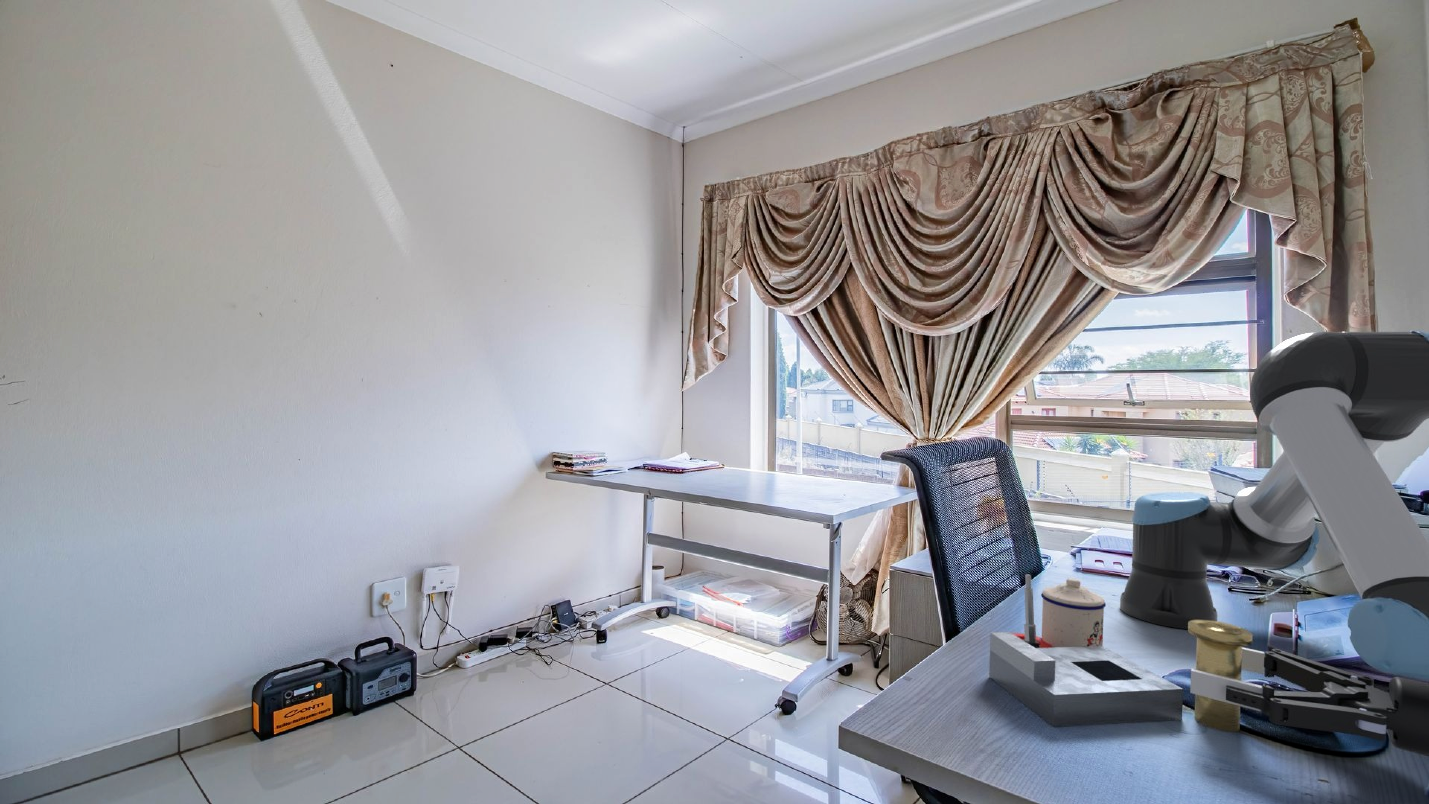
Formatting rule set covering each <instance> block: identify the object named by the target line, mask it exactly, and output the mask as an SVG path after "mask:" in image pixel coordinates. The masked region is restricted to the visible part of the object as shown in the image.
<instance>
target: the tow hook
mask: <svg viewBox="0 0 1429 804" xmlns="http://www.w3.org/2000/svg"><path fill="white" fill-rule="evenodd" d="M1024 576H1025V587H1024V588H1023V589H1024V610H1025V612H1024V613H1025V615H1024V616H1025V617H1024V618H1025V623H1024V624H1023V625H1024V633H1018V632H1017V633H1016V632H1011V633H1012V634H1014V635H1015V636H1017V637H1018V638H1020V639H1022V640H1023V641H1025V642H1027V643H1028V644H1030V645H1031V646H1033V647H1035V648H1051V645H1050V644H1048V643H1046V642H1044V641H1043V640H1042V637H1039V636H1037V630H1036V629H1037V627H1036V624H1035V617H1034V616H1035V615H1034V614H1035V613H1034V589H1033V587H1032V575H1031V574H1025V575H1024Z"/></svg>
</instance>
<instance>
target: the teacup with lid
mask: <svg viewBox="0 0 1429 804" xmlns="http://www.w3.org/2000/svg"><path fill="white" fill-rule="evenodd" d="M1065 581H1066V583H1061V584H1058V585H1056V586H1050V587H1046V588H1044V589H1043V590H1042V591H1041V594H1040V596H1041V598H1042V611H1041V612H1042V619H1041V638H1042V640H1043V641H1044V642H1046V643H1048V644H1050V645H1051V648H1053V647H1081V646H1103V647H1104V644H1103V643H1104V612H1105V610H1104V609H1105V607H1106V602H1105V599H1104V598H1103V597H1102V596H1100V595H1099V594H1097V593H1096V592H1093V591H1090V590H1089V589H1088V588H1086V587H1085V586H1082V585H1081V581H1080V580H1079V579H1077V578H1072V577H1071V578H1070V577H1069V578H1066V580H1065Z"/></svg>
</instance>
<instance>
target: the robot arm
mask: <svg viewBox="0 0 1429 804" xmlns="http://www.w3.org/2000/svg"><path fill="white" fill-rule="evenodd" d="M1249 389H1250V390H1249V398H1250V405H1251V408H1252V412H1253V414H1254V416H1255V417H1256V420H1257V421H1258V423H1259V425H1260V427H1261V428H1262V429H1263V431H1265V432H1266V433H1268V434H1270V435H1273V436H1276V438H1277V439H1278V442H1279V444H1280V446H1281V447H1282V450H1283V452H1282V453H1281V454H1280V456H1279V457H1278V458H1277V459H1276V461H1275V462H1274V463H1273V464H1272V466H1271V467H1270V468H1269V470H1268V471H1267V472H1266V473H1265V475H1264V476H1263V478H1262V479H1260V481H1259V483H1258V484H1257V485H1256V486H1250V487H1247V488H1244V489H1242V490H1240V491H1238V493H1237V494H1236V495H1235V496H1234V498H1233V499H1232V501H1230V502H1217V501H1215V502H1214V501H1211V500H1210V498H1209V497H1208V495H1205V494H1203V493H1199V492H1198V493H1197V492H1180V491H1176V492H1175V491H1174V492H1173V491H1171V492H1169V491H1167V492H1156V493H1155V492H1154V493H1148V494H1145V495H1142V496H1140V497H1138V498H1137V499H1136V500H1135V503H1134V506H1133V507H1134V509H1133V516H1132V519H1131V520H1132V521H1131V522H1132V554H1131V555H1132V556H1131V557H1132V558H1131V559H1132V561H1131V562H1132V563H1131V571H1130V575H1129V576H1128V579H1127V582H1126V584H1125V587H1124V592H1123V591H1122V593H1121V595H1120V599H1119V600H1120V602H1119V603H1120V604H1119V608H1120V610H1121V611H1122V612H1123V613H1125V614H1126V615H1129V616H1130V617H1133V618H1136V619H1138V620H1141V621H1144V622H1148V623H1151V624H1156V625H1160V626H1164V627H1169V628H1177V629H1185V630H1188V622H1189V621H1191V620H1210V621H1217V622H1218V611H1217V608H1215V607H1214V602H1213V598H1212V595H1211V592H1210V591H1211V590H1210V588H1209V585H1208V582H1207V578H1208V576H1207V573H1208V572H1207V571H1208V565H1213V566H1226V567H1227V566H1228V567H1238V568H1252V569H1263V570H1268V571H1291V570H1298V569H1301V568H1303V567H1305V566H1307V565H1308V564H1310V562H1311V561H1313V559H1314V558H1315V556H1316V555H1317V552H1318V548H1317V545H1319V544H1320V531H1319V527H1318V524H1317V523H1316V519H1315V516H1316V514H1317V516H1318V518H1319V520H1320V522H1321V523H1322V525H1323V527H1324V530H1325V531H1326V534H1327V535H1328V538H1329V539H1330V541H1331V542H1332V543H1331V544H1332V545H1333V547H1334V549H1335V550H1336V552H1337V554H1338V556H1339V558H1340V559H1341V561H1342V564H1343V566H1344V568H1345V569H1346V571H1347V574H1348V575H1349V577H1350V579H1351V581H1352V583H1353V586H1355V589H1356V590H1357V592H1358V594H1359V596H1360V599H1361V600H1359V601H1356V603H1355V604H1353V605H1352V607H1351V608H1350V610H1349V612H1348V616H1347V627H1348V629H1349V630H1350V635H1349V640H1350V643H1351V645H1352V647H1353V649H1354V651H1355V652H1356V653H1357V655H1358V656H1359V657H1360V658H1361V659H1362V660H1363V661H1364V662H1365V664H1367V665H1368V666H1369V667H1372V668H1373V669H1375V670H1377V671H1379V672H1381V673H1385V674H1389V675H1390V674H1391V675H1395V676H1394V677H1392V678H1390V680H1389V683H1388V689H1387V690H1383V689H1380V688H1377V687H1374V685H1375V684H1374V680H1375V679H1374V678H1373V677H1370V676H1368V675H1363V674H1359V673H1355V672H1351V671H1347V670H1344V669H1340V668H1337V667H1335V666H1331V665H1328V664H1324V663H1322V662H1319V661H1315V660H1313V659H1309V658H1306V657H1303V656H1300V655H1296V654H1294V653H1291V652H1288V651H1284V650H1281V649H1279V648H1272V649H1271V651H1261V650H1257V649H1251V648H1249V647H1244V646H1242V666H1241V670H1243V671H1248V672H1252V673H1256V674H1262V675H1264V677H1265V678H1275V676H1276V677H1278V678H1279V679H1282V680H1284V681H1287V682H1288V683H1291V684H1294V685H1296V686H1298V687H1301V688H1303V689H1305V690H1308V691H1285V690H1275V688H1273V687H1272V686H1270V685H1268V684H1266V683H1263V684H1262V685H1259V684H1255V683H1252V682H1247V681H1244V680H1241V681H1240V680H1236V679H1232V678H1228V677H1223V676H1219V675H1215V674H1211V673H1207V672H1203V671H1199V670H1196V668H1195V669H1194V668H1191V670H1190V691H1189V692H1190V694H1193V695H1195V694H1196V695H1200V696H1204V697H1208V698H1212V699H1215V700H1219V701H1223V702H1227V703H1230V704H1234V705H1238V706H1240V707H1241V708H1247V709H1250V710H1254V711H1257V712H1261V713H1262V714H1263V715H1265V716H1266V717H1269V718H1268V719H1269V722H1270V723H1272V724H1273V725H1276V726H1279V725H1280V726H1283V727H1284V726H1286V727H1293V728H1301V729H1306V730H1308V729H1309V730H1315V731H1323V732H1329V733H1331V732H1332V733H1339V734H1346V735H1355V736H1358V737H1363V738H1368V739H1372V740H1376V741H1379V742H1386V741H1387V730H1388V736H1389V740H1390V743H1391V744H1392V746H1394V747H1395V748H1397V749H1399V750H1403V751H1407V752H1411V753H1414V754H1418V755H1422V756H1426V757H1429V683H1428V682H1429V540H1428V539H1427V537H1426V536H1425V534H1424V533H1423V531H1422V529H1421V528H1420V526H1419V523H1417V521H1416V520H1415V518H1414V517H1413V515H1412V513H1411V512H1410V510H1409V508H1408V507H1407V506H1406V504H1405V502H1404V501H1403V499H1402V497H1401V496H1400V493H1398V491H1397V490H1396V488H1395V486H1394V485H1393V483H1392V482H1391V480H1390V479H1389V477H1388V475H1387V474H1386V473H1385V471H1384V469H1383V468H1382V466H1381V464H1380V463H1379V461H1378V460H1377V458H1376V457H1375V455H1374V454H1375V452H1377V450H1378V449H1379V448H1380V447H1381V446H1382V445H1384V443H1391V442H1393V443H1394V442H1398V441H1401V440H1404V439H1405V438H1408V437H1409V436H1411V435H1412V434H1413V433H1414V432H1415V430H1417V429H1418V428H1419V427H1420V425H1422V424H1423V422H1424V421H1426V420H1428V419H1429V332H1428V331H1421V330H1410V331H1329V330H1328V331H1312V332H1306V333H1303V334H1299V335H1297V336H1294V337H1291V338H1288V339H1286V340H1284V341H1283V342H1281V343H1279V344H1277V345H1276V346H1275V347H1273V348H1271V349H1270V351H1268V352H1267V353H1266V354H1265V356H1264V357H1263V358H1262V359H1261V360H1260V361H1259V363H1258V364H1257V366H1256V368H1255V370H1254V372H1253V374H1252V377H1251V381H1250V388H1249ZM1406 677H1407V678H1406ZM1409 678H1410V679H1409ZM1415 679H1418V680H1415ZM1419 680H1423V681H1419ZM1424 681H1426V682H1424ZM1427 681H1428V682H1427Z"/></svg>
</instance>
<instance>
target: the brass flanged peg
mask: <svg viewBox="0 0 1429 804" xmlns="http://www.w3.org/2000/svg"><path fill="white" fill-rule="evenodd" d="M1187 631H1188V633H1189V634H1190V635H1192V636H1193V637H1196V655H1195V656H1196V658H1195V659H1196V660H1195V670H1199V671H1203V672H1207V673H1211V674H1215V675H1219V676H1223V677H1228V678H1232V679H1236V680H1240V681H1242V669H1241V666H1242V647H1250V646H1252V645H1253V633H1252V632H1251V631H1249V630H1248V629H1245V628H1242V627H1240V626H1237V625H1234V624H1230V623H1226V622H1223V621H1222V622H1221V621H1218V620H1217V621H1210V620H1191V621H1189V622H1188V629H1187ZM1194 719H1195V720H1196V721H1197V723H1200V724H1201V725H1203V726H1205V727H1207V728H1210V729H1214V730H1217V731H1221V732H1229V733H1233V732H1238V731H1240V729H1241V728H1240V727H1241V725H1240V724H1241V706H1238V705H1234V704H1230V703H1227V702H1223V701H1219V700H1215V699H1212V698H1208V697H1204V696H1200V695H1196V694H1194Z"/></svg>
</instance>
